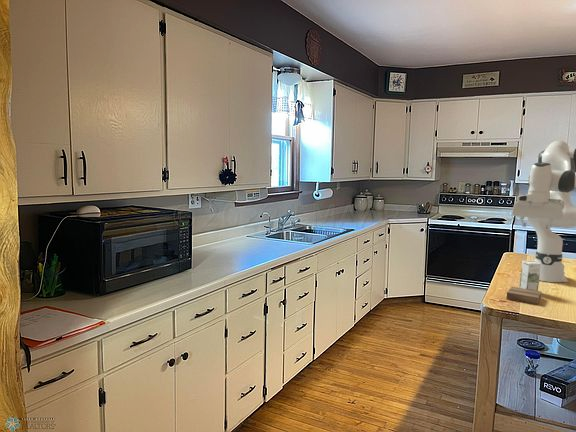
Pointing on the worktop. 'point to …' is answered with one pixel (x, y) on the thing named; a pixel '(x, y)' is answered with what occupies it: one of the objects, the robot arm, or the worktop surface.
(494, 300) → the worktop surface
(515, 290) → the walnut base
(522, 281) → the syrup box
